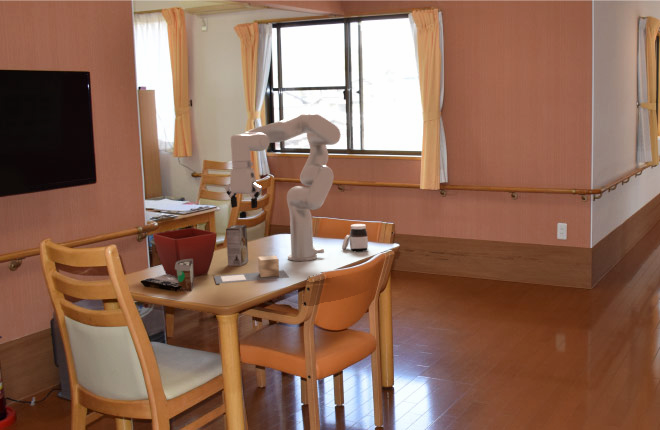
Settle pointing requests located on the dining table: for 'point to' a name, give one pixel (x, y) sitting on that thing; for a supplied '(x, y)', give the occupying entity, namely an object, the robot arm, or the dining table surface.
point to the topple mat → (245, 277)
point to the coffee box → (237, 245)
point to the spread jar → (356, 238)
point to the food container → (185, 274)
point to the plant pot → (185, 249)
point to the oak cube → (268, 266)
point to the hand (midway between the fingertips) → (244, 207)
